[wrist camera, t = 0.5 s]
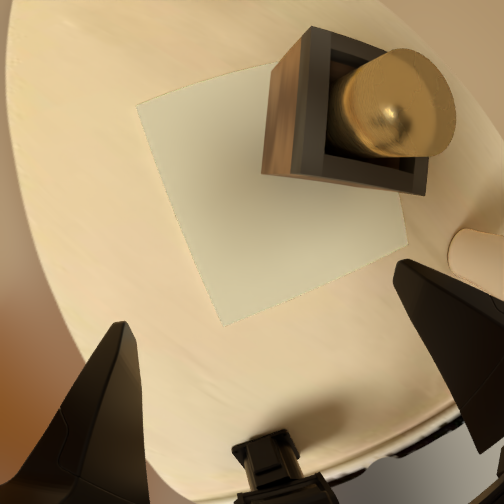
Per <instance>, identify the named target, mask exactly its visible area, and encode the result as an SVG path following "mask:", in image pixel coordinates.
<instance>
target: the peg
mask: <svg viewBox="0 0 504 504" xmlns="http://www.w3.org/2000/svg"><path fill="white" fill-rule="evenodd" d="M455 125H456V111H455V104H454V100H453V97H452V93H451V91H450V88H449V86H448V84H447V82H446V80H445V78H444V77H443V75H442V74H441V72H440V71H439V70H438V69H437V67H436V66H435V65H434V64H433V63H432V62H431V61H430V60H429V59H427V58H426V57H424V56H423V55H421V54H420V53H418V52H415V51H413V50H409V49H403V48H402V49H394V50H392V51H390V52H387V53H385V54H383V55H382V56H380V57H378V58H376V59H374V60H372V61H370V62H368V63H366V64H364V65H362V66H360V67H359V68H357V69H355V70H353V71H351V72H349V73H348V74H346V75H344V76H342V77H341V78H339V79H337V80H335V81H334V82H332V83H330V84H329V94H328V110H327V124H326V136H325V148H324V152H325V153H326V154H328V155H331V156H337V157H342V158H347V159H363V158H386V157H430V156H435V155H438V154H440V153H441V152H443V151H444V150H445V149H446V148H447V146H448V145H449V144H450V142H451V140H452V137H453V135H454V131H455Z"/></svg>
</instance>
